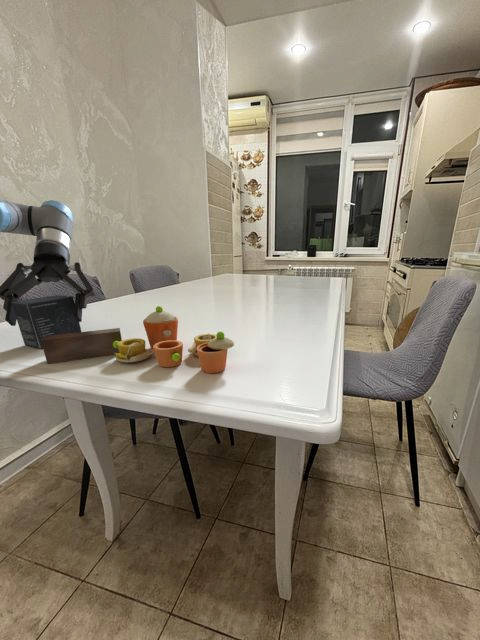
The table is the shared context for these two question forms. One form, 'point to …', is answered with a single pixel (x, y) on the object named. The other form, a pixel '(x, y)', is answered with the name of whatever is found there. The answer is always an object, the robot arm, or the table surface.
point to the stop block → (80, 345)
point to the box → (45, 318)
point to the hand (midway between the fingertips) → (45, 321)
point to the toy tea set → (174, 344)
